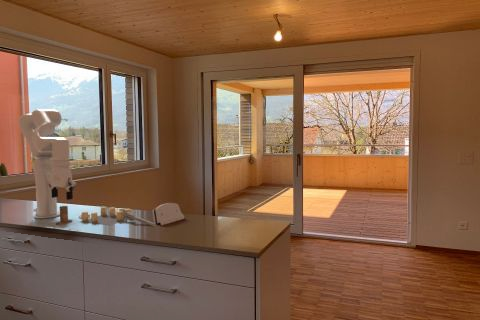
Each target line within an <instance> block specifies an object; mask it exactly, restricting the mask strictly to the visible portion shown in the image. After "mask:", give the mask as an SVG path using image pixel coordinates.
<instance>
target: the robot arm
mask: <svg viewBox="0 0 480 320" xmlns="http://www.w3.org/2000/svg"><path fill="white" fill-rule="evenodd" d="M62 120H63V119H62V115H61V112H60V111H59V110H56V109H40V108H39V109H35V110H33V111H32V112H31V113H25V114H21V116H20V117H19V119H18V124H19V129H20V132H21V134H22V135H23V137H24V138H25V139H26V141H27V144H28V147H29V150H30V153H31V156H32V157H33V159H35V160H33V163H32V170H33V174H34V180H35V194H36V207H35V208H34V209H33V212H35V214H34V215H33V217H34V219H41V220H42V219H51V218H57V217H60V211H58V206H57V205H58V200H57V198H58V197H59V192H58V191H59V189H58V188H60V189H64V188H65V190H66V193H65V195H66V197H65V198H66V200H67V201H69V200H73V192H74V190H75V188H76V185H77V182H76V181H74V180H73V174H72V168H71V165H70V163H71V162H70V142H69V139H68V138H65V137H61V136H58V137H57V136H51V135H53V134H54V133H55V131H56V127H58V126H60V125H61V123H62Z"/></svg>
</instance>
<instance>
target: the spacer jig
mask: <svg viewBox="0 0 480 320" xmlns="http://www.w3.org/2000/svg"><path fill="white" fill-rule="evenodd" d="M124 210H125V211H126V210H127V212H128V213H130V214H132V209H131V208H125V207H124V208H123V207H121V208H118V211H116V207H113V206H112V207H109V214H108V212H107V206H101V207H100V214H99V215H98V212H91V213H90V217H88V214H89V211H82V212H81V214H82V218H81V220H80V221H79V223H85V224H92V225H93V224H94V225H101V226H113V225H115V224H116V225H117V224H119V223H121V222H126V221H125V217H124V221H122V212H123V211H124ZM128 220H130V219H129V218H128V219H127V221H128Z"/></svg>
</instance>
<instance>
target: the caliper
mask: <svg viewBox="0 0 480 320" xmlns="http://www.w3.org/2000/svg"><path fill="white" fill-rule="evenodd" d="M124 217H125V221H124ZM128 218H129V219H128ZM127 219H128V220H131V221H136V222H139V223H142V224H145V225H148V226H150V227H151V226H153V227H156V226H157V224H154V222H152V221H150V220H147V219H144V218H141V217H139V216H135V214H132V213H131V214H130V213H128V212H127V210H126V211H125V210H124V211H123V212H122V222H127V221H128V220H127Z"/></svg>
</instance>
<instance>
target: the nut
mask: <svg viewBox="0 0 480 320" xmlns="http://www.w3.org/2000/svg"><path fill="white" fill-rule="evenodd" d="M78 218H79V219H82V213H80V214H78ZM88 218H91V213H88Z"/></svg>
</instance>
